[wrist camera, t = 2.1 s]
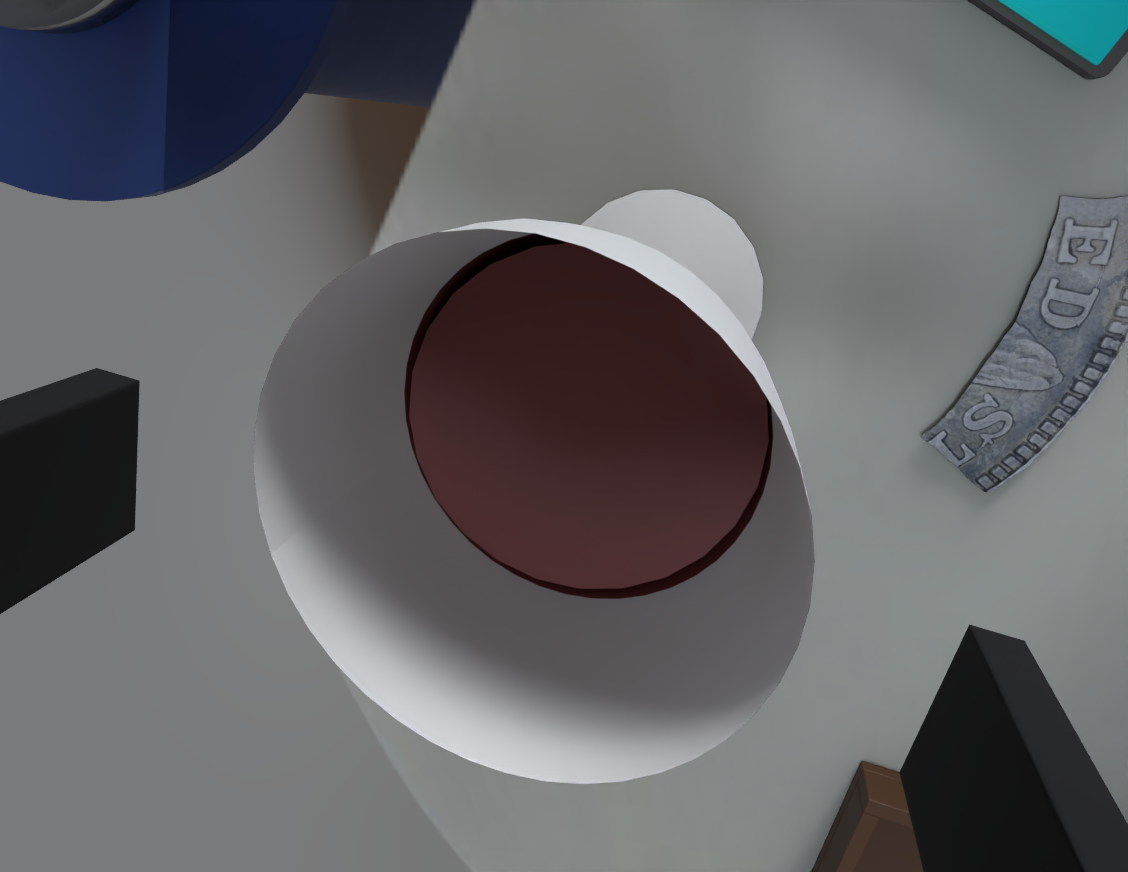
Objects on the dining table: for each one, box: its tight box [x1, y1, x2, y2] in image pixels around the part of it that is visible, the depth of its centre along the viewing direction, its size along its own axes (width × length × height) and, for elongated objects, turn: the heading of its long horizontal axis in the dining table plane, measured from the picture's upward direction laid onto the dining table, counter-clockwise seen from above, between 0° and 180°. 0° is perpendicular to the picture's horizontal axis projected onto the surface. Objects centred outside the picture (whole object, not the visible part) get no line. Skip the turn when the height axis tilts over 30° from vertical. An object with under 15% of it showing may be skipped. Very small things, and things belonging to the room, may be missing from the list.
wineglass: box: [254, 189, 815, 784], centre depth 24 cm, size 9×10×23 cm
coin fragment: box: [921, 196, 1128, 492], centre depth 32 cm, size 13×5×1 cm, turn 159°
